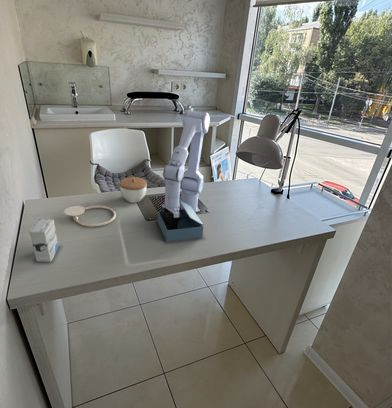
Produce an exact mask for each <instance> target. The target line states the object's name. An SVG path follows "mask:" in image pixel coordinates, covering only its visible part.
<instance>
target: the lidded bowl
mask: <svg viewBox="0 0 392 408" xmlns="http://www.w3.org/2000/svg"><path fill="white" fill-rule="evenodd" d="M147 186H148V182H147V180H146V179H144V178H142V177H139V176H130V177H129V176H128V177H124V178H122V179H121V180H119V190H120V194H121V196H122V197H123V199H124V200H126V201H127V202H128V203H130V204H131V203H132V204H136V203H139V202H141V201H142V200H144V198H145V197H146V194H147V188H148V187H147Z"/></svg>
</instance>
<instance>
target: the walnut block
mask: <svg viewBox="0 0 392 408" xmlns="http://www.w3.org/2000/svg"><path fill="white" fill-rule="evenodd" d="M167 214H172V212H165V226H166V228H167V230H171V228H170V221H169V218H168V216H167ZM177 228H178V225H177ZM177 228H176V229H177ZM174 230H175V229H174Z"/></svg>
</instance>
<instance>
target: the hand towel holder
mask: <svg viewBox="0 0 392 408" xmlns="http://www.w3.org/2000/svg"><path fill="white" fill-rule="evenodd" d="M92 209H105V210H107V211H108V210H109V211H110V212H112V213H113V216H112V218H110V219H109V220H107V221H104V222H100V223H86V222H83V221H80V220H79V216H81V215H83V214H84V213H85V211H86V210H92ZM63 213H64V214H65V215H66V216H68V217H73V218H72V220H73V221H74V222H76V223H77V224H79V225H80V226H84V227H91V228H94V227H95V228H97V227H103V226H106V225H108V224H110V223H112V222H114V220H115V219H116V217H117V213H116V211H115V210H114V209H113V208H112V207H110V206H107V205H98V204H97V205H89V206H85V207H83V206H80V205H73V206H69V207H66V208H65V209H64V211H63Z"/></svg>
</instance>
